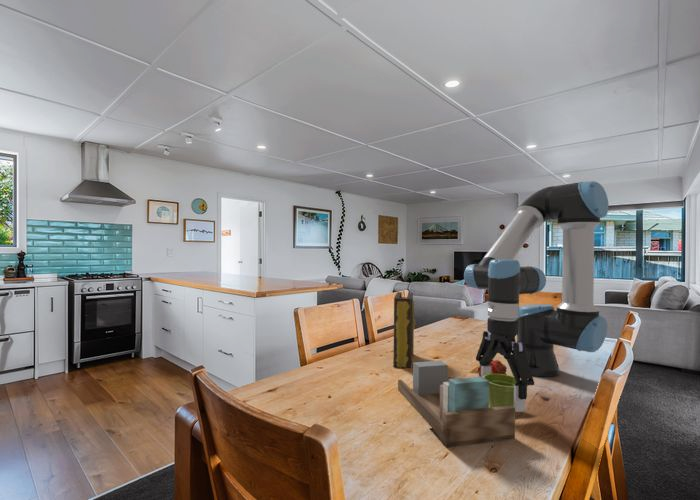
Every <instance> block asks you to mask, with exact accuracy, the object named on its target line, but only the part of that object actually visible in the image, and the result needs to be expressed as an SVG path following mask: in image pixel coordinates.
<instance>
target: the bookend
mask: <svg viewBox="0 0 700 500" xmlns="http://www.w3.org/2000/svg"><path fill="white" fill-rule="evenodd" d="M448 367H449V365H448V364H447V363H445V362H444V361H442V360H432V361H431V360H430V361H418V362H417V361H415V362H414V361H413V362H412V368H413V369H412V370H413V371H412V389H413V390H414V391H415V392H416V393H417V394H418V395H423V394H434V393H440V385H443V382H448Z"/></svg>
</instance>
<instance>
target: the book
mask: <svg viewBox="0 0 700 500" xmlns="http://www.w3.org/2000/svg"><path fill="white" fill-rule="evenodd" d="M402 292H403V291H402ZM402 292H401V291H397V292H396V293H395V295H394V296H393V297H394V298H393V357H392V358H393V366H392V367H393V368H394V369H412V364H413V362H412V361H413V357H414V349H415V348H414V344H415V343H414V342H415V341H414V334H415V331H414V329H415V327H416V320H415V318H414V317H415V301H414V292H408V293H407V296H403V293H402Z"/></svg>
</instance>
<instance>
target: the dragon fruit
mask: <svg viewBox="0 0 700 500" xmlns="http://www.w3.org/2000/svg"><path fill="white" fill-rule="evenodd" d="M488 366H489V365H488ZM490 366H491V374H504V375H508V374H507V370H508V369H507V366H506V365H505V364H503V363H502V361H501V360H498V359H495V360H494V359H493V360H492V361H491V365H490ZM477 373H478V377H481V365H480V364H479V366H478V368H477Z"/></svg>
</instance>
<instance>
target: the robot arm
mask: <svg viewBox="0 0 700 500" xmlns="http://www.w3.org/2000/svg"><path fill="white" fill-rule="evenodd" d="M608 211H609V199H608V195H607V192H606V190H605V188H604V187H603V185H602V184H601V183H599V182H598V181H594V180H593V181H579V182H573V183H567V184H561V185H560V184H559V185H552V186H547V187H543V188H541V189H539V190H537V191H536V192H534V193H532V194H531V195H530V196H528V197H527V198H526V199H525V200H523V201H522V203H521V204H520V205H519V206H518V207H517V208H516V209H515V212H514V217H513V219H512V220H511V221H510V222H509V224H508V225H507V226H506V228H505V229H504V230H503V232H502V233H501V234H500V235H499V237H498V238H497V239H496V241H495V242H494V244H493V245H492V246H491V247H490V249H489V250H488V251H487V252H486V254H485V255H484V257H483V258H482V259H481V260H480V262H479V263H474V264H469V265H467V266H466V268H465V270H464V273H463V279H464V282H465V284H466V285H467V287H469V288H473V289H477V290H487V293H488V295H487V296H488V298H487V301H488V302H487V303H488V304H487V316H488V318H487V323H486V324H487V328H486V329H487V331H485V330H483V332H482V339H481V342H480V345H479V348H478V350H477V353H476V355H475V361H476V362H479V363H478V364H479V366H480V365H481V377H483V376H484V375H487V374H491V366H490V365H491V361H492V360H493V361H494V358H495V357H496V355H497V354H499V355H501V356H502V357H503V359H504V360H506V361H507V364H508V367H509V368H510V371H511V373H512V376H513V377H514V378H515V380H516V383H515V384H514V407H515V413H521V412H526V400H527V397H528V386H534V385H535V380H534V377H545V378H546V377H547V378H548V377H555V376H558V375H559V374H560V365H559V363H558V361H557V358H556V354H555V350H554V346H559V347H563V348H567V349H572V350H576V351H578V352H587V353H596V352H597V351H598V350H599V349H600V348H602V346H603V344H604V343H605V340H606V337H607V332H608V323H607V320H606V318H605V317H603V316H601V315H600V309H599V308H598V307H597V306H596V305H595V304H594V286H595V284H594V282H595V281H594V280H595V278H594V277H595V276H594V275H595V274H594V272H595V271H594V270H595V268H594V267H595V263H594V262H595V229H596V228H597V227H598V226H599V225H601V218H602V219H603V218H604V217H607V215H608V213H609V212H608ZM549 221H557V226H558V227H560V228H561V230H562V269H561V272H562V273H561V274H562V276H561V278H562V279H561V281H562V282H561V283H562V284H561V286H562V287H561V290H562V291H561V302H560V303H559V304H558V305H556V310H555V306H554V305H551V304H526V305H520V295H533V294H536V293H539V292H541V291H542V290H543V289H545V287H546V284H547V277H546V275H545V273H544V271H543V270H542V269H540V268H539V267H537V266H536V267H535V266H532V265H531V266H527V265H526V266H520V265H521V264H520V261H519V260H516V259H515V258H516V256H517V254H519V252H520V251H521V249H522V248H523V246H524V245H525V244H526V242H527V241H528V239H529V238H530V237H531V235H532V234H533V232H534V231H535V229H538V228H540V227H541V226H543V224H544V223H545V222H549ZM488 365H489V366H488Z"/></svg>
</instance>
